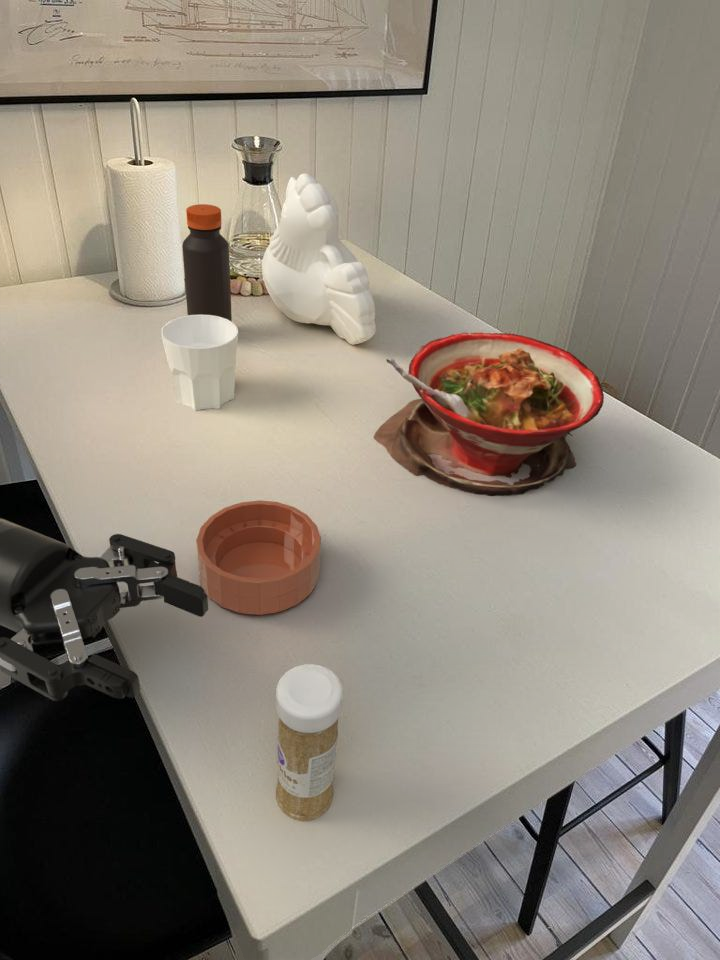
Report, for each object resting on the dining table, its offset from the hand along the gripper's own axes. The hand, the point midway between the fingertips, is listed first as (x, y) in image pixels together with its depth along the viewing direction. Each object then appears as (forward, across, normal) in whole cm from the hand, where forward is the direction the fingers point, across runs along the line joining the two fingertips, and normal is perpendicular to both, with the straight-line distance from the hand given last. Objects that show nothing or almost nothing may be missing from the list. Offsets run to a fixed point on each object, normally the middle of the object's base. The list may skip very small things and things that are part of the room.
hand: (173, 643), depth 55 cm
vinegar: (-38, +63, +13) cm, 75 cm away
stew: (+10, +52, +12) cm, 54 cm away
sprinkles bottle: (+11, 0, +12) cm, 16 cm away
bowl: (-4, +20, +12) cm, 23 cm away
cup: (-29, +47, +12) cm, 56 cm away
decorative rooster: (-25, +75, +13) cm, 80 cm away
